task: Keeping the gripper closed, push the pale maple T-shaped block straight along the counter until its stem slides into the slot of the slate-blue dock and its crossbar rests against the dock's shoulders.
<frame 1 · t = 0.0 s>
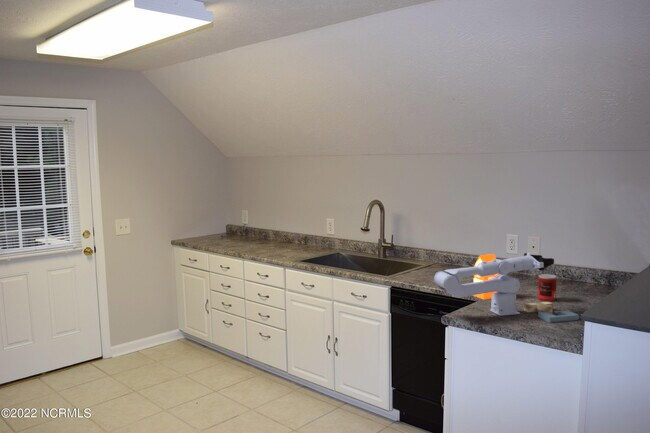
hand: (547, 259, 227), 22 cm above the worktop, tool horizontal, fingers open, 7 cm apart
canned food: (546, 299, 245), on the worktop
orange juice: (486, 297, 251), on the worktop
t block: (538, 310, 228), on the worktop
dock: (556, 318, 216), on the worktop
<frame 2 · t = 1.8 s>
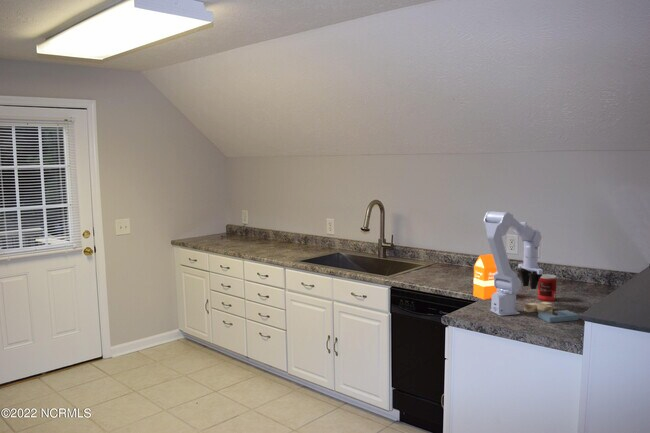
hand: (529, 287, 233), 8 cm above the worktop, tool pointing down, fingers open, 5 cm apart
nothing on the worktop moved.
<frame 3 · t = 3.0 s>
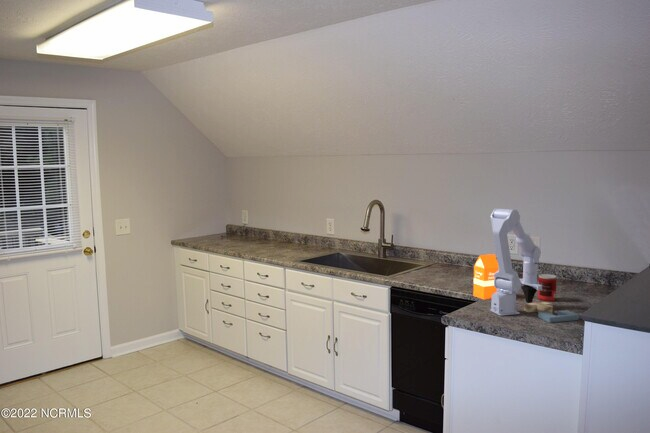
hand: (529, 302, 234), 2 cm above the worktop, tool pointing down, fingers closed
nothing on the worktop moved.
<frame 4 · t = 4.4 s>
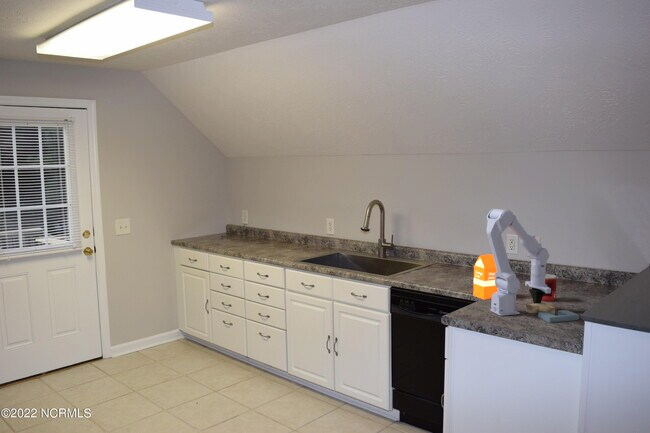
hand: (536, 305, 229), 2 cm above the worktop, tool pointing down, fingers closed
t block: (540, 311, 226), on the worktop, touching gripper
everything else where it was.
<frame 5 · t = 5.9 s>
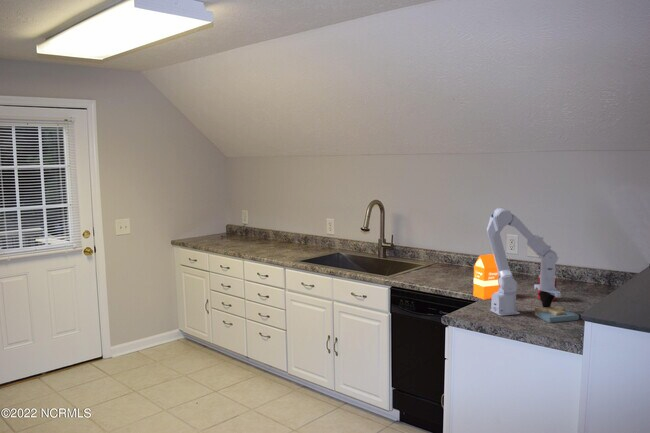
hand: (546, 309, 223), 2 cm above the worktop, tool pointing down, fingers closed
t block: (549, 315, 220), on the worktop, touching dock, gripper
everything else where it was.
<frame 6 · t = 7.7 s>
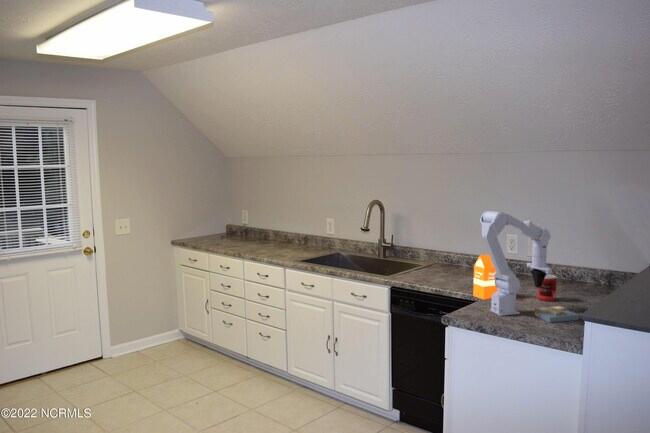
hand: (538, 286, 229), 9 cm above the worktop, tool pointing down, fingers closed
t block: (549, 315, 220), on the worktop
everything else where it was.
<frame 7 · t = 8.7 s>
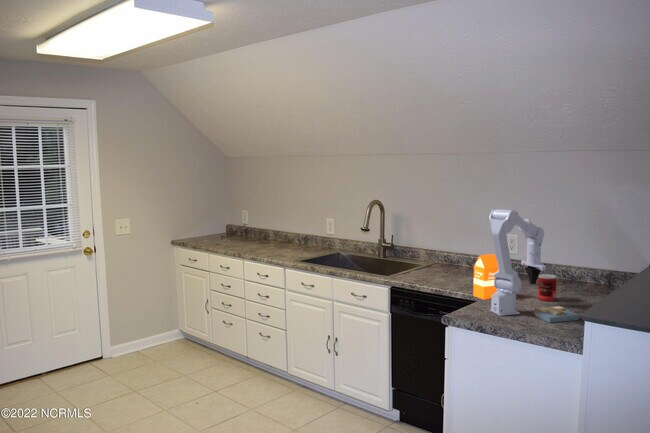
hand: (532, 283, 236), 9 cm above the worktop, tool pointing down, fingers closed
nothing on the worktop moved.
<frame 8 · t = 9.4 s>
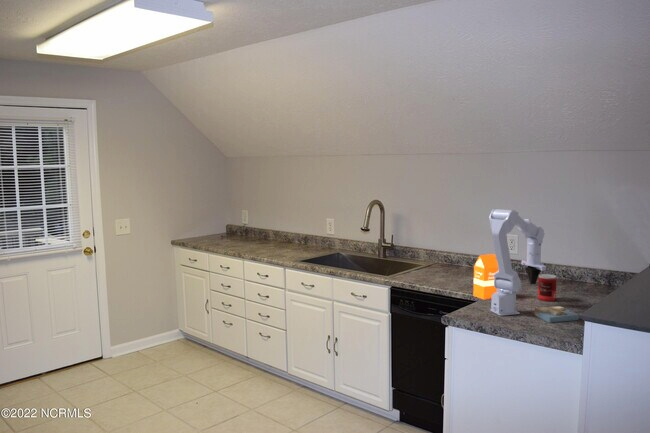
hand: (532, 283, 236), 9 cm above the worktop, tool pointing down, fingers closed
nothing on the worktop moved.
at the end: t block 0.1 cm from the target spot, on the worktop; t block tilted 1° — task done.
